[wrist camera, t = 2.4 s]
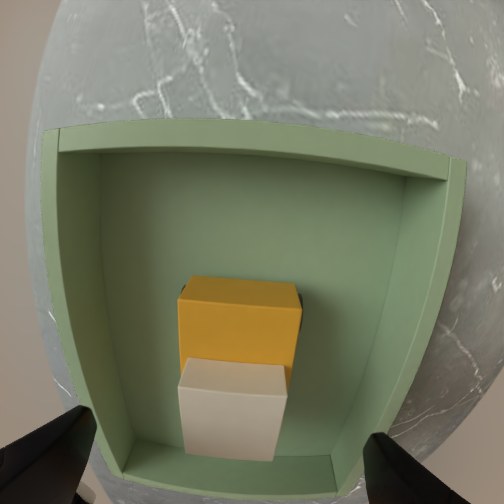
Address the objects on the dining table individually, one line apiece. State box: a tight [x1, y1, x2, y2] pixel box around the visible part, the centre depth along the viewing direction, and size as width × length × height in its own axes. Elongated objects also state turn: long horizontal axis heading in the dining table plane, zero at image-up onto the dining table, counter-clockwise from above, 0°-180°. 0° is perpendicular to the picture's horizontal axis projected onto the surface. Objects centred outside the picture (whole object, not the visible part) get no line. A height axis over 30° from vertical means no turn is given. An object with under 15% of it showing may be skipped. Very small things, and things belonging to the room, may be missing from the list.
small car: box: [177, 275, 303, 461], centre depth 10 cm, size 7×4×4 cm, turn 176°
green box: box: [41, 118, 467, 500], centre depth 11 cm, size 14×18×4 cm
